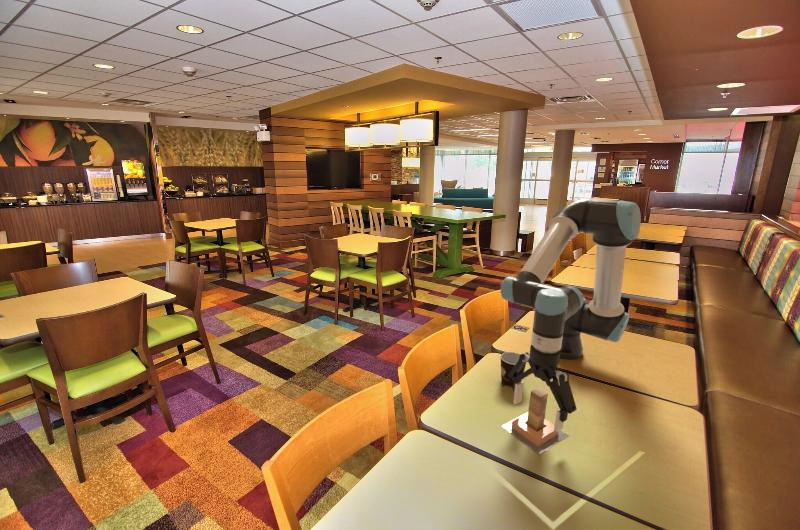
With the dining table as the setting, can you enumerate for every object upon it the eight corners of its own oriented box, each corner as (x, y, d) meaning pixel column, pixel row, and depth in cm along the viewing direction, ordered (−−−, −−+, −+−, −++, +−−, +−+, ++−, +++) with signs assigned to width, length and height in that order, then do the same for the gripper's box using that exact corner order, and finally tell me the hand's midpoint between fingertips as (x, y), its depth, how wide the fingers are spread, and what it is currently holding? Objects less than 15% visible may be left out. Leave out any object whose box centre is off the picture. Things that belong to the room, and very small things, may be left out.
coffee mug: (525, 392, 126) (528, 366, 123) (498, 389, 127) (501, 363, 125) (521, 374, 137) (524, 349, 134) (497, 371, 138) (499, 346, 136)
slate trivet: (530, 413, 115) (530, 410, 115) (568, 438, 105) (569, 435, 105) (501, 428, 109) (501, 426, 108) (539, 457, 98) (539, 454, 98)
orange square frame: (531, 416, 113) (532, 410, 112) (558, 434, 105) (559, 427, 105) (511, 427, 108) (512, 420, 107) (537, 446, 101) (538, 440, 100)
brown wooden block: (533, 423, 108) (538, 387, 105) (542, 430, 106) (548, 393, 103) (526, 427, 107) (530, 391, 103) (535, 434, 104) (540, 397, 101)
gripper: (499, 332, 107) (494, 396, 113) (581, 373, 87) (569, 448, 93) (517, 326, 111) (510, 388, 117) (599, 363, 91) (586, 436, 97)
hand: (536, 415), depth 105 cm, fingers open, 13 cm apart
